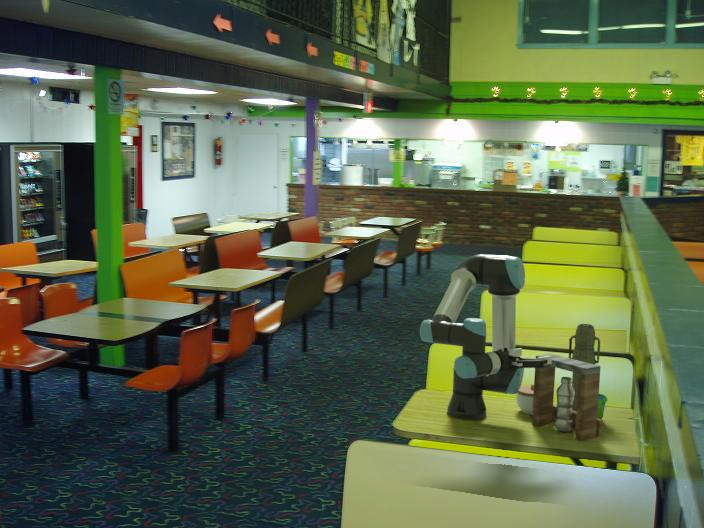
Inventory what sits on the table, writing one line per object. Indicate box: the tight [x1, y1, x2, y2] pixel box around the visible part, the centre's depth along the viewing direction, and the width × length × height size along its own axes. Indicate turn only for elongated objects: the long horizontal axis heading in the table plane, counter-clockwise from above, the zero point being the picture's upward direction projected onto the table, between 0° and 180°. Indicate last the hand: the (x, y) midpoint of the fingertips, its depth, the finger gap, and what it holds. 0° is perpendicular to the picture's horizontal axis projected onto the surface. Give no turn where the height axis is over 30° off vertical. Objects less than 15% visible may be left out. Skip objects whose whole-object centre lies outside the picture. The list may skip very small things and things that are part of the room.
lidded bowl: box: [515, 384, 534, 415], centre depth 320 cm, size 13×13×11 cm
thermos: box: [568, 323, 601, 412], centre depth 323 cm, size 9×12×35 cm
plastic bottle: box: [554, 376, 575, 433], centre depth 296 cm, size 6×7×20 cm
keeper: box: [531, 353, 604, 442], centre depth 297 cm, size 23×12×26 cm, turn 36°
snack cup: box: [597, 393, 608, 420], centre depth 310 cm, size 16×10×10 cm
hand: (535, 355), depth 285 cm, fingers open, 13 cm apart
